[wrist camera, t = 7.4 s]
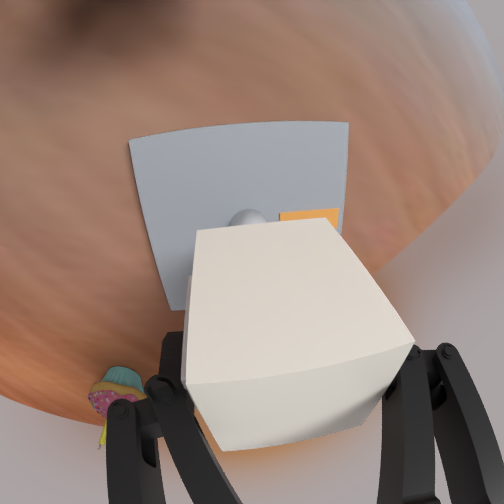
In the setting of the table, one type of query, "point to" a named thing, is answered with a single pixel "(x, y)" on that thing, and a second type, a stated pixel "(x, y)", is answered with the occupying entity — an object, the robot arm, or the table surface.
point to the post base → (234, 184)
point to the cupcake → (115, 391)
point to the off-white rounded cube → (286, 334)
